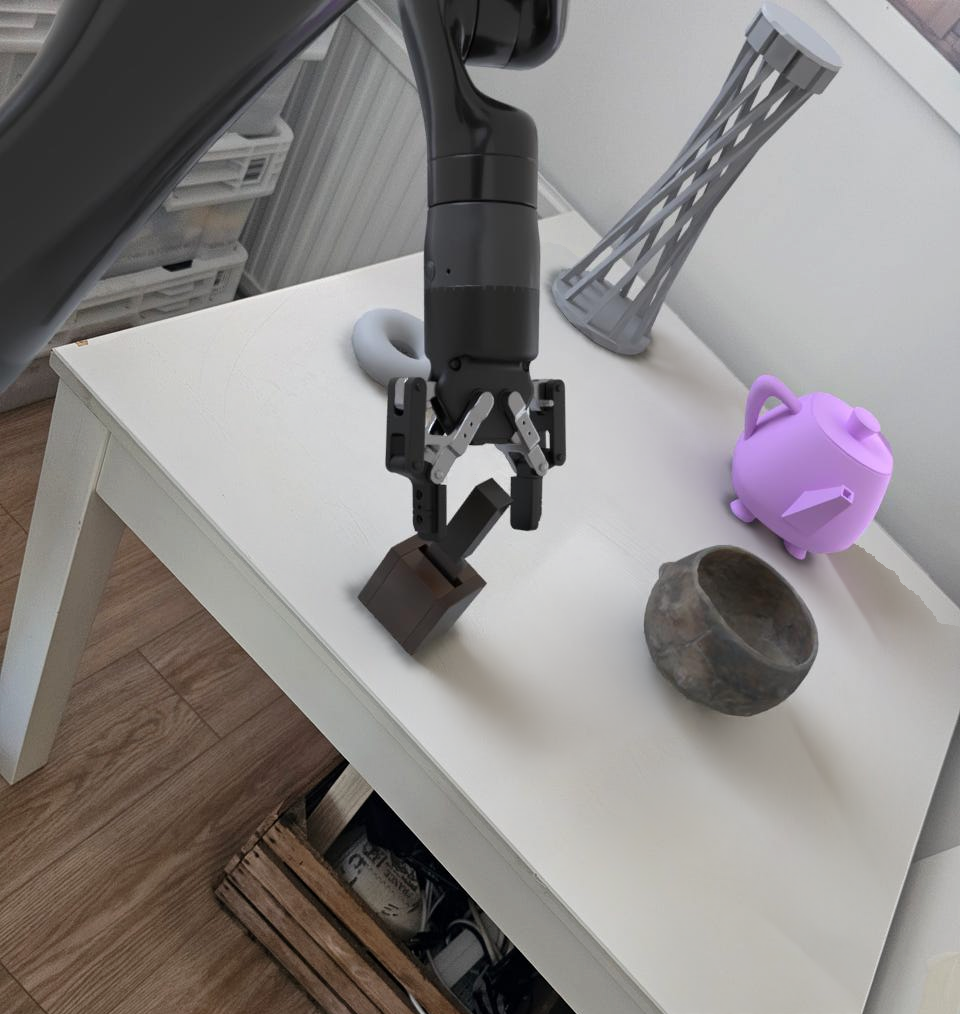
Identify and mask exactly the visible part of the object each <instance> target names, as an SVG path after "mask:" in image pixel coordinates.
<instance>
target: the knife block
mask: <svg viewBox="0 0 960 1014" xmlns="http://www.w3.org/2000/svg"><path fill="white" fill-rule="evenodd" d="M431 543H432V542H431V541H425V540H421V539H420V538H419V537H418V534H417V533H415V534H413V535H411V536H410V537H408V538H406V539H404V540H402V541H400V542H398V543H397V544H395V545H393V546H391V547H390V549H388V552H386V554H385V556H384V557H383V559H382V560H381V561H380V563H379V564H378V566H377V567H376V569H375V570H374V571H373V573H372V574H371V576H370V578H369V579H368V581H367V582H366V584H365V585H364V586H363V588H362V589H361V590H360V592H359V594H358V595H357V599H358V600H359V601H360V602H361V603H362V604H363V605H364V606H365V607H366V608H367V609H368V610H369V612H370V613H371V614H372V615H373V616H374V617H375V618H376V619H377V621H378V622H379V623H380V624H381V625H382V627H384V628H385V629H386V630H387V632H389V633H390V634H391V636H392V637H393V638H394V639H395V640H396V641H397V643H399V644H400V646H402V648H404V650H405V651H406V652H407V653H408V654H409V655H410V656H412V655H414V654H415V653H417V652H419V650H421V649H423V648H425V646H427V645H429V644H430V643H432V642H433V641H435V640H436V639H438V638H439V637H440V636H442V635H443V634H446V632H448V631H450V630H451V629H452V627H453V626H454V625H455V624H456V622H457V621H458V620H459V619H460V617H462V615H463V614H464V613H465V611H466V610H467V609H468V608H469V606H470V605H471V604H472V603H473V601H474V600H475V599H476V598H477V597H478V596H479V594H480V593H481V592H482V591H483V590H484V588H485V587H486V586H487V584H488V582H487V581H486V580H485V579H484V578H483V577H482V576H481V574H479V573H478V571H477V570H476V569H475V568H474V567H473V566H472V565H471V564H470V563H469V562H468V564H467V566H466V567H465V568H464V569H463V571H462V572H461V573H460V575H459V576H458V577H457V578H456V580H455V581H454V582H453V584H452V585H451V584H450V583H449V581H448V580H447V579H446V578H445V577H444V576H443V575H442V574H441V573H440V572H439V571H438V570H437V569H436V568H435V566H434V565H433V564H432V563H431V562H430V561H429V560H428V559H427V558H426V557H425V556H424V555H423V554H424V552H425V551H426V550H427V548H428V547H429V546H430V544H431Z"/></svg>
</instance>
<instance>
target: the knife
mask: <svg viewBox="0 0 960 1014" xmlns="http://www.w3.org/2000/svg"><path fill="white" fill-rule="evenodd" d="M512 502H513V499H512V498H511V497H510V495H509V494H508V493H507V491H506V490H505V489H504V488H503V487H502V486H501V485H500V484H499V483H498V482H497V481H496V480H495V479H494V477H489V478H488V479H486V480H483V481H482V482H480V483H478V484H476V485H475V486H474V487H473V489H472V490H471V491H470V493H469V494H468V496H467V497H466V498H465V500H463V502H462V503H461V505H460V507H458V509H457V511H456V512H455V513H454V515H453V516H452V517H451V519H450V520H449V522H447V537H446V539H445V540H444V541H439V542H432V543H431V544H430V546H429V547H428V548H427V550H426V551H425V552H424V554H423V555H424V556H425V557H426V558H427V559H428V560H429V561H430V562H431V563H432V564H433V565H434V566H435V568H436V569H437V570H438V571H439V572H440V573H441V574H442V575H443V576H444V577H445V578H446V579H447V580H448V581H449V583H450V584H451V585H452V584H453V582H454V581H455V580H456V578H457V577H458V576H459V575H460V573H461V572H462V571H463V569H464V568H465V567H466V566H467V564H468V563H469V562H468V560H466V558H469V557H470V556H472V555H473V553H475V552H476V550H477V548H478V547H479V546H480V544H481V543H482V542H483V540H484V539H485V538H486V537H487V536H488V534H489V533H490V532H491V530H493V528H494V527H495V525H496V524H497V522H498V521H499V520H500V519H501V518H502V516H503V515H504V513H505V512H506V511H507V510H508V509H509V508H510V504H511V503H512Z"/></svg>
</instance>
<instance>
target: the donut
mask: <svg viewBox="0 0 960 1014" xmlns="http://www.w3.org/2000/svg"><path fill="white" fill-rule="evenodd" d="M350 339H351V341H350V342H351V346H352V350H353V353H354V356H355V358H356V360H357V361H358V363H359V364H360V366H361V369H363V370H364V372H366V373H367V375H369V376H370V377H371V378H372V379H373V380H374V381H376V382H377V383H378V384H380V385H381V386H383V387H384V388H385V389H388V383H389V381H390V379H391V378H393V377H421V378H423V379H424V380H425V381H427V380H428V377H429V374H430V370H431V364H430V361H429V359H428V358H427V357H426V356H425V353H424V320H423V319H420V318H419V317H417V316H414V315H412V314H410V313H408V312H406V311H403V310H399V309H396V308H387V307H382V308H381V307H380V308H375V309H372V310H367V311H366V312H365V313H364V314H362V316H359V318H358V319H357V320H356V321H355V323H354V324H353V328H352V333H351V337H350ZM401 351H402V352H403V353H402V352H401ZM404 353H405V354H404Z"/></svg>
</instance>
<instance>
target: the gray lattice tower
mask: <svg viewBox="0 0 960 1014" xmlns="http://www.w3.org/2000/svg"><path fill="white" fill-rule="evenodd" d="M744 37H745V41H744V43H743V45H742V46H741V48H740V50H739V53H738V54H737V57H736V58H735V60H734V63H733V65H732V66H731V69H730V70H729V72H728V75H727V77H726V79H725V81H724V83H723V85H722V87H721V88H720V91H719V93H718V95H717V97H716V98H715V99H714V101H713V102H712V104H711V106H709V108H708V109H707V111H706V113H705V114H704V116H703V117H702V119H701V120H700V121H699V123H698V125H697V126H696V127H695V129H694V130H693V132H692V133H691V135H690V136H689V138H688V139H687V141H686V142H685V143H684V145H683V147H682V148H681V150H680V151H679V152H678V154H677V155H676V157H675V158H674V160H673V161H672V163H671V164H670V166H669V167H668V168H667V170H666V171H665V172H664V173H663V174H662V175H661V176H660V177H659V178H658V179H657V180H656V181H655V182H654V184H653V185H652V186H651V187H649V188H648V190H647V191H646V192H645V193H644V194H643V195H642V196H641V197H640V198H639V199H638V200H637V202H636V203H635V204H634V205H633V206H632V207H630V209H629V210H628V211H627V212H626V213H625V214H624V215H623V217H621V219H619V221H618V222H617V223H616V224H615V225H614V226H613V227H612V228H611V229H610V230H609V231H608V232H607V233H606V234H605V236H603V238H601V239H600V241H599V242H598V243H597V244H596V245H595V246H594V247H593V248H592V249H591V250H590V251H589V252H588V253H587V254H586V255H584V257H582V258H581V259H580V260H578V261H577V263H576V264H574V265H573V266H572V267H570V268H569V267H568V268H563V269H561V270H560V271H559V273H558V274H557V275H556V277H555V280H554V281H553V285H552V287H551V294H552V296H553V299H554V301H555V303H556V306H557V308H558V309H559V310H560V311H561V313H562V314H563V315H564V317H565V318H566V319H567V321H568V322H569V323H570V324H571V325H573V326H574V327H576V329H578V330H579V331H580V332H581V333H582V334H583V335H585V336H586V337H587V338H588V339H590V340H591V341H592V342H594V343H595V344H597V345H599V346H601V347H603V348H605V349H607V350H610V351H612V352H613V353H615V354H621V355H627V356H634V355H638V354H641V353H644V351H645V350H646V349H647V347H648V346H649V344H650V342H651V340H652V339H653V337H652V332H651V331H652V328H653V326H654V324H655V322H656V320H657V317H658V315H659V313H660V311H661V308H662V307H663V304H664V302H665V300H666V297H667V295H668V293H669V291H670V289H671V288H672V286H673V284H674V282H675V280H676V278H677V277H678V275H679V273H680V272H681V269H682V268H683V265H684V264H685V262H686V261H687V259H688V257H689V255H690V253H691V251H692V250H693V248H694V246H695V245H696V242H697V241H698V239H699V237H700V236H701V234H702V232H703V230H704V229H705V227H706V225H707V223H708V221H709V219H710V218H711V216H712V214H713V213H714V210H715V209H716V208H717V206H718V204H719V203H721V201H722V200H723V198H724V197H725V196H726V194H727V193H728V191H729V190H730V189H731V188H732V186H733V185H734V183H736V181H737V180H738V178H739V177H740V176H741V174H742V173H743V172H744V170H745V169H746V168H747V166H748V165H749V164H750V163H751V161H752V160H753V158H754V157H755V156H756V155H757V153H758V152H759V151H760V149H761V148H762V147H763V146H764V145H765V144H766V143H767V142H768V141H769V140H770V139H771V138H772V137H773V136H774V135H775V134H776V133H777V132H778V131H779V130H780V129H781V128H782V127H783V126H784V125H785V123H787V122H788V120H790V118H792V117H793V115H795V114H796V113H797V111H798V110H799V109H800V108H801V107H803V106H804V105H805V103H806V102H807V101H808V100H810V99H811V98H812V97H813V95H814V94H815V95H819V96H820V95H823V93H824V92H825V90H826V89H827V88H828V87H829V85H830V84H831V82H832V81H833V80H834V78H835V77H836V76H837V75H838V73H839V72H840V71H841V69H842V68H843V66H844V63H843V60H842V57H841V56H840V55H839V54H838V53H837V51H836V50H835V49H834V47H833V46H832V45H831V44H830V43H829V42H828V41H827V40H826V39H825V38H824V37H823V36H822V35H821V34H819V33H818V32H817V30H815V29H814V28H813V27H811V26H810V25H809V24H808V23H807V22H805V21H804V20H802V19H801V18H800V17H799V16H797V15H796V14H795V13H794V12H792V11H791V10H789V9H787V8H785V7H783V6H782V5H780V4H778V3H776V2H774V1H770V0H765V1H763V3H762V4H761V6H760V8H759V9H758V11H757V12H756V13H755V15H754V17H753V18H752V19H751V21H750V22H749V24H748V25H747V26H746V28H745V30H744ZM760 56H762V57H761V58H762V59H761V61H760V63H759V66H758V68H757V70H756V72H755V75H754V77H753V79H752V80H751V81H750V82H749V83H748V84H747V85H746V86H745V87H744V84H745V82H746V80H747V77H748V75H749V73H750V71H751V68H752V67H753V65H755V63H756V62H757V60H758V58H759V57H760ZM775 71H776V72H777V73H779V74H778V77H777V78H776V80H775V81H774V83H773V85H772V87H771V89H770V91H769V92H768V94H767V95H766V96H765V97H764V98H763V99H762V100H761V101H759V103H757V104H756V105H755V106H754V107H752V106H753V105H754V102H755V100H756V98H757V96H758V93H759V91H760V89H761V87H762V85H763V83H764V82H765V81H766V80H767V79H768V78H769V77H770V76H771V75H772V74H773V73H774V72H775ZM743 87H744V89H743ZM742 89H743V90H742ZM784 96H785V97H784ZM783 97H784V98H783ZM782 98H783V99H782ZM781 99H782V100H781ZM780 100H781V102H780V103H779V105H778V106H777V107H776V108H775V110H774V111H773V112H772V113H771V114H770V115H769V116H768V114H769V112H770V111H771V109H772V107H773V106H774V105H775V104H776V103H778V102H779V101H780ZM738 109H739V111H738ZM736 111H738V114H737V115H736V118H735V120H734V121H733V125H732V126H731V127H729V129H728V130H727V131H725V129H726V126H727V124H728V122H729V120H730V118H731V117H733V115H734V114H735V112H736ZM748 127H749V128H748ZM747 128H748V130H747V132H746V133H745V135H744V137H743V138H742V139H741V140H740V141H738V143H736V142H737V140H738V138H739V136H740V134H741V133H742V132H744V131H745V130H746V129H747ZM724 131H725V132H724ZM706 143H707V144H706ZM705 144H706V147H705V148H704V149H705V150H704V151H702V153H701V154H699V152H700V150H701V149H702V147H703V146H704V145H705ZM720 151H721V152H720ZM719 152H720V155H719V157H718V159H717V161H715V163H713V164H712V165H711V163H712V160H713V157H714V156H716V155H717V154H718V153H719ZM698 154H699V155H698ZM710 165H711V166H710ZM724 170H725V171H724ZM723 171H724V173H723ZM692 175H694V176H693V177H692ZM690 177H692V180H691V183H690V184H689V185H688V186H687V187H686V188H684V190H682V191H681V192H680V190H681V188H682V186H683V184H684V183H685V182H686V181H687V180H688V179H689V178H690ZM704 187H705V188H704ZM702 188H704V191H703V193H702V195H701V196H700V197H699V198H698V200H696V198H697V195H698V193H699V191H700V190H701V189H702ZM679 192H680V193H679ZM664 199H666V200H665V202H664V204H663V205H662V207H661V209H660V210H659V211H658V212H657V213H656V214H655V215H654V216H652V217H651V218H650V219H649V220H648V221H647V222H645V221H646V219H647V218H648V217H649V215H650V213H651V212H652V211H653V209H654V208H656V206H658V205H660V203H661V202H663V200H664ZM695 200H696V201H695ZM679 208H680V209H679ZM678 209H679V211H678V213H677V216H676V219H675V221H674V223H673V225H672V226H671V227H670V228H669V229H668V230H667V231H666V232H665V233H664V234H663V235H662V236H661V237H660V238H659V239H658V240H657V241H656V242H655V240H656V239H657V236H658V234H659V232H660V230H661V228H662V226H663V224H664V222H665V220H667V219H668V218H669V217H670V216H671V215H672V214H673V213H675V212H676V211H677V210H678ZM690 220H691V221H690ZM689 221H690V223H689V224H688V222H689ZM644 222H645V223H644ZM643 223H644V225H643ZM686 224H688V227H686V230H684V232H683V233H682V231H683V228H684V227H685V225H686ZM681 233H682V235H681ZM680 235H681V236H680ZM646 237H647V238H646ZM619 238H620V239H619ZM645 238H646V240H645V242H644V244H643V246H642V248H641V250H640V252H639V254H638V256H637V258H636V260H635V262H634V263H633V266H632V267H631V268H630V269H629V270H628V271H626V273H625V274H624V275H623V276H622V277H621V278H620V279H619V280H618V281H617V282H616V283H615V284H613V283H612V282H611V281H609V280H607V279H606V277H607V275H608V274H609V272H610V271H611V270H612V268H613V266H614V265H615V264H616V263H617V262H619V260H621V259H622V258H623V257H624V256H625V255H626V254H627V253H629V251H631V250H632V249H633V248H634V247H635V246H636V245H638V244H639V243H640V242H641V241H642V240H643V239H645ZM618 239H619V240H618ZM617 240H618V242H617V243H616V245H615V247H614V248H613V249H612V251H611V252H610V254H608V255H607V257H605V258H604V259H603V260H602V261H600V263H598V264H597V265H596V266H595V267H594V268H593V269H591V270H590V271H589V270H587V269H588V268H589V266H590V265H591V264H593V262H594V261H596V259H597V258H598V257H599V256H600V255H601V254H602V253H603V252H604V251H605V250H607V249H608V248H610V246H611V245H613V244H614V243H615V242H616V241H617ZM662 249H663V250H662ZM660 250H662V252H661V255H660V257H659V259H658V262H657V264H656V266H655V269H654V272H653V273H652V275H651V276H650V277H649V278H648V280H647V281H646V283H645V284H644V285H643V287H642V288H641V290H640V291H639V292H638V294H637V295H636V297H635V298H633V299H631V298H630V297H629V296H628V295H629V293H630V291H631V289H632V286H633V284H634V282H635V281H636V278H637V276H638V275H639V273H640V271H641V270H642V269H643V268H644V267H645V266H646V265H647V264H648V263H649V262H650V261H651V260H652V259H653V258H654V257H655V256H656V255H657V254H658V253H659V252H660ZM667 272H668V273H667ZM665 275H666V276H665ZM664 277H665V278H664ZM663 278H664V280H663ZM662 280H663V282H662V283H661V281H662ZM660 283H661V285H660ZM659 285H660V286H659ZM658 287H659V288H658ZM657 289H658V290H657ZM656 291H657V292H656Z"/></svg>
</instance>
